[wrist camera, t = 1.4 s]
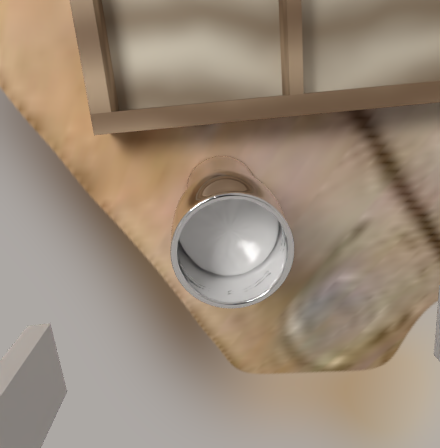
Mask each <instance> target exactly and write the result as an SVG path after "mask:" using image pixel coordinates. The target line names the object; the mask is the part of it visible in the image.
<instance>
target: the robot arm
mask: <svg viewBox="0 0 440 448" xmlns="http://www.w3.org/2000/svg"><path fill="white" fill-rule="evenodd" d="M434 355H435V357H436V358H437V359H438V360H439V361H440V286H439V298H438V312H437V323H436V336H435V349H434ZM66 393H67V390H66V385H65V381H64V377H63V373H62V369H61V365H60V361H59V357H58V353H57V349H56V344H55V341H54V337H53V332H52V328H51V324H40V325H30V326H27V327H26V328H25V330H24V331H23V332H22V333H21V335H20V336H19V337H18V339H17V340H16V341H15V342H14V344H13V345H12V346H11V348H10V349H9V350H8V351H7V353H6V354H5V355H4V357H3V358H2V359H1V360H0V448H41V446H42V444H43V442H44V440H45V438H46V435H47V433H48V431H49V429H50V427H51V425H52V423H53V421H54V418H55V416H56V414H57V412H58V410H59V408H60V406H61V404H62V401H63V399H64V397H65V395H66Z"/></svg>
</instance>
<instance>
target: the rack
mask: <svg viewBox="0 0 440 448" xmlns="http://www.w3.org/2000/svg"><path fill="white" fill-rule="evenodd" d="M70 5H71V10H72V16H73V21H74V27H75V32H76V38H77V43H78V49H79V54H80V60H81V65H82V71H83V76H84V82H85V87H86V93H87V98H88V104H89V109H90V115H91V120H92V126H93V132H94V135H101V134H111V133H122V132H132V131H143V130H153V129H164V128H174V127H185V126H195V125H206V124H216V123H227V122H237V121H248V120H259V119H269V118H280V117H290V116H301V115H311V114H322V113H332V112H343V111H353V110H364V109H374V108H385V107H395V106H406V105H416V104H427V103H438V102H440V0H70Z"/></svg>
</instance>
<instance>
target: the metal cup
mask: <svg viewBox="0 0 440 448" xmlns="http://www.w3.org/2000/svg"><path fill="white" fill-rule="evenodd" d="M293 258H294V240H293V235H292V232H291V229H290V227H289V225H288V223H287V220H286V218H285V215H284V213H283V210H282V208H281V206H280V205H279V203H278V201H277V199H276V198H275V196H274V195H273V194H272V193H271V191H270V190H269V189H268V188H267V187H266V186H265V185H264V184H263V183H262V182H261V181H259V180H258V179H256V178H255V177H253V175H252V173H251V171H250V170H249V169H248V167H247V166H246V165H245V164H243V163H242V162H241V161H239V160H237V159H235V158H232V157H228V156H215V157H211V158H208V159H206V160H204V161H203V162H201V163H200V164H198V165H197V166H196V167H195V169H194V170H193V171H192V173H191V174H190V176H189V179H188V182H187V189H186V191H185V192H184V193H183V195H182V196H181V198H180V200H179V202H178V205H177V207H176V210H175V213H174V217H173V222H172V230H171V261H172V266H173V269H174V272H175V274H176V276H177V278H178V280H179V281H180V283H181V284H182V286H183V287H184V288H185V289H186V290H187V291H188V292H189V293H190V294H191V295H193V296H194V297H195V298H197V299H198V300H200V301H202V302H204V303H207V304H209V305H212V306H216V307H221V308H241V307H246V306H250V305H253V304H256V303H258V302H260V301H262V300H264V299H266V298H267V297H269V296H270V295H271V294H273V293H274V292H275V291H276V290H277V289H278V288H279V287H280V286H281V285H282V283H283V282H284V281H285V279H286V277H287V276H288V274H289V272H290V269H291V266H292V263H293Z"/></svg>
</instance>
